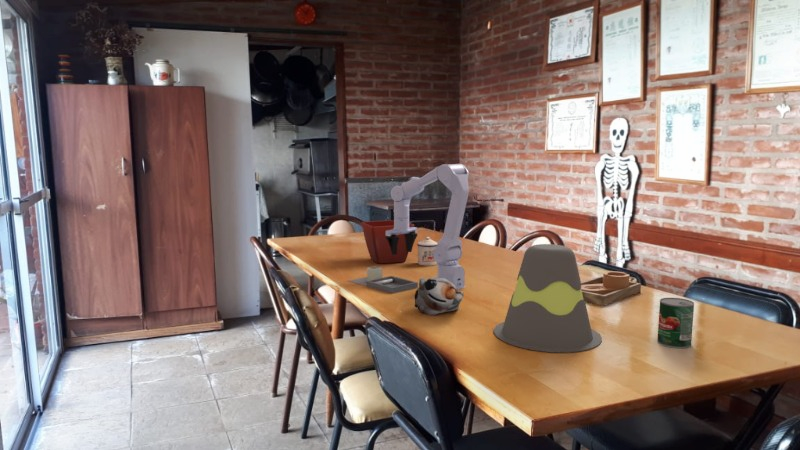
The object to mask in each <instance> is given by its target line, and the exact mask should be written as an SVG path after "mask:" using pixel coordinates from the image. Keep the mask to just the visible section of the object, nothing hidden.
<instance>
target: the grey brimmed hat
mask: <svg viewBox="0 0 800 450" xmlns="http://www.w3.org/2000/svg"><path fill="white" fill-rule="evenodd" d="M523 254H524V255H523V257H522V261H521V264H520V268H519V270H518V273H517V280H516V281H517V282H516V286H515V289H514V291H513V293H512V294H511V295H512V296H511V299H510V302H509V305H508V309H507V311H506V315H505V319H504V321H503V322H500V323H498V324H497V325H496V326H495V327H494V329H493V334H494V335H495V336H496V338H497V339H499V340H500V341H502V342H504V343H506V344H508V345H512V346H515V347H518V348H521V349H525V350H531V351H535V352H536V351H537V352H542V353H543V352H544V353H545V352H546V353H560V354H561V353H563V354H564V353H577V352H578V353H579V352H585V351H588V350H589V351H590V350H593V349H595V348H597V347H598V346H600V345H601V343H602V342H603V338H602V336H601V334H600V333H599V332H598V331H596V330H595V329H593V328H592V327H591V323H590V319H589V318H590V316H589V314H588V309H587V304H586V301H584V300H583V295H582V290H581V282H582V281H581V277H580V272H579V267H578V263H577V262H578V261H577V258H576V254H575V252H574V251H573V250H572V249H571V248H569V247H568V246H565V245H562V244H561V245H560V244H553V243H552V244H550V243H545V244H544V243H543V244H541V243H540V244H534V245H531V246H529V247H528V248H526V250H525V252H524V253H523Z"/></svg>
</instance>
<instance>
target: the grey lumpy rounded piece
mask: <svg viewBox="0 0 800 450" xmlns="http://www.w3.org/2000/svg"><path fill="white" fill-rule="evenodd" d="M464 296H465V295H464V292H463V291H462V290H456V288H455V285H454V284H452V283H451V282H449V281H448V280H447V279H445V278H440V277H430V278H428V279H426V278H425V277H424V276H422V277H421V278H419V281H418V288H416V291H415V293H414V307H415V308H416V309H417V310H418V312H419V313H420V314H424V315H429V316H435V315H438V314H442V313H447V312H452V311H458V310H459V308H460V304H461V302H462V300H463V298H464Z"/></svg>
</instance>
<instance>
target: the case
mask: <svg viewBox="0 0 800 450" xmlns="http://www.w3.org/2000/svg"><path fill="white" fill-rule="evenodd" d="M366 287H368V288H371V289H376V290H378V291H382V292H386V293H389V294H396V293H401V292H404V291H405V292H406V291H410V290H414V289H418V288H419V281H413V280H410V279H406V278H401V277H398V276H394V275H389V276H384V277H382V278H379V279H374V280H369V281H366Z"/></svg>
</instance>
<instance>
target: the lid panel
mask: <svg viewBox="0 0 800 450" xmlns="http://www.w3.org/2000/svg"><path fill="white" fill-rule="evenodd" d="M366 281H367V276H365V277H360V278H359V277H358V278H353V279H349V280H348V282H350V283H353V284H358V285H361V286H365V287H367V285H366Z"/></svg>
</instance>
